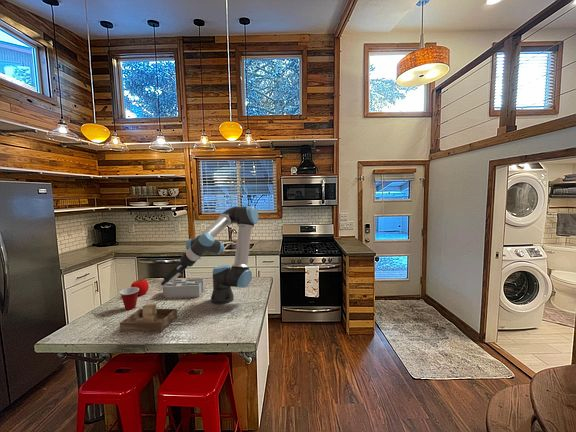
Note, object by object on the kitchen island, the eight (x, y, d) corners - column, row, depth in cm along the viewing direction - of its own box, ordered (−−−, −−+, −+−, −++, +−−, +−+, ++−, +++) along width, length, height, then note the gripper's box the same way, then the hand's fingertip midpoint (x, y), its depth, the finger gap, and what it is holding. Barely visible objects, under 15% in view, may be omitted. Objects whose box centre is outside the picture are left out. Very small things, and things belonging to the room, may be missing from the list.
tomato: (150, 295, 196) (149, 280, 195) (131, 298, 190) (130, 283, 189) (147, 290, 206) (146, 276, 205) (130, 293, 200) (129, 278, 199)
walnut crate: (140, 316, 160) (140, 308, 159) (177, 317, 159) (176, 308, 158) (120, 332, 142) (119, 322, 141) (161, 332, 141) (160, 323, 140)
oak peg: (148, 320, 153) (147, 303, 152) (157, 320, 153) (156, 303, 152) (143, 324, 148) (142, 306, 147) (152, 324, 148) (151, 306, 147)
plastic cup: (119, 313, 165) (117, 294, 165) (121, 306, 175) (120, 288, 174) (139, 310, 170) (138, 291, 169) (140, 304, 180) (139, 286, 179)
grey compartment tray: (199, 297, 190) (199, 285, 190) (158, 299, 189) (158, 286, 188) (205, 289, 207) (205, 278, 206) (168, 290, 205) (167, 279, 205)
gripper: (186, 267, 134) (158, 297, 136) (204, 256, 159) (180, 281, 161) (175, 257, 134) (147, 287, 136) (195, 247, 159) (171, 273, 161)
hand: (165, 284), depth 148 cm, fingers open, 13 cm apart
